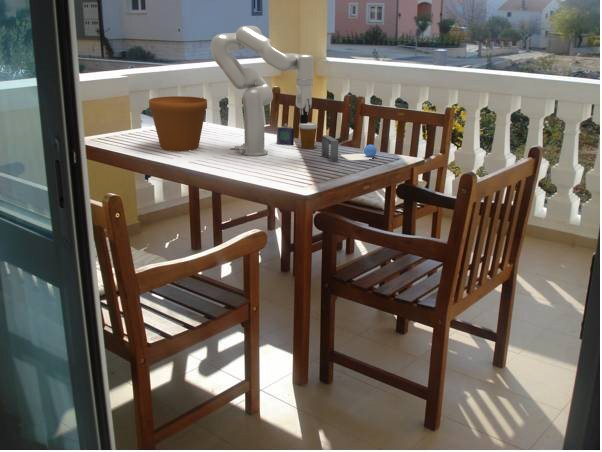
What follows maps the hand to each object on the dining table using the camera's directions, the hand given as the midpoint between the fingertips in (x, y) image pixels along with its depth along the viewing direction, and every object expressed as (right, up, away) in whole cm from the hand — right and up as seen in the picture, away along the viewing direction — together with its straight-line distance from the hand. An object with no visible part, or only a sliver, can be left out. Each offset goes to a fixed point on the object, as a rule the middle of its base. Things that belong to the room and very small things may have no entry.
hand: (303, 123), depth 318 cm
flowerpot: (-62, -8, +27) cm, 68 cm away
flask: (-9, -5, +40) cm, 42 cm away
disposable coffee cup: (+2, -7, +34) cm, 35 cm away
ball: (+32, -11, +13) cm, 36 cm away
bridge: (+12, -15, +9) cm, 21 cm away
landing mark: (+26, -14, +13) cm, 32 cm away
